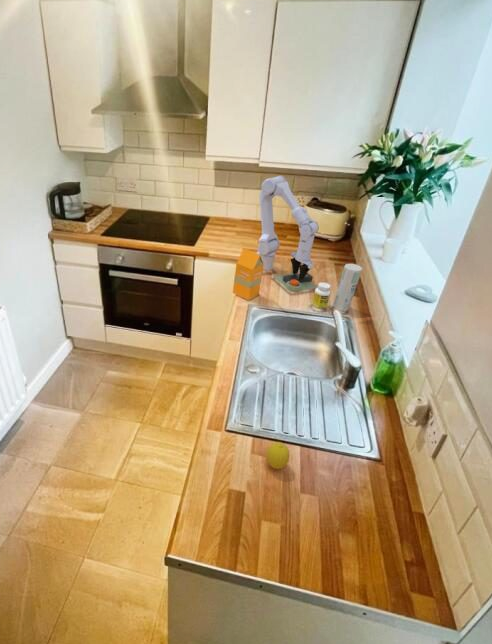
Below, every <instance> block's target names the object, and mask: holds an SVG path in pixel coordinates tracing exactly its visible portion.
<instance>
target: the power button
mask: <svg viewBox="0 0 492 644" xmlns="http://www.w3.org/2000/svg"><path fill="white" fill-rule="evenodd" d="M298 284H299V281H298V280H294V279H293V280H291V281H290V285H292V286H298Z"/></svg>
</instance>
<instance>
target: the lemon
mask: <svg viewBox="0 0 492 644" xmlns="http://www.w3.org/2000/svg"><path fill="white" fill-rule="evenodd" d="M265 458H266V462H267V464H268V465H269V466H270V467H271V468H273V469H275V470H281V469H283V468H285V467H286V466H287V465H288V464H289V461H290V450H289V448H288V446H287V445H286V444H284V443H283V442H279V441H275V442H273V443H271V444H270V445H269V446H268V447H267V450H266V453H265Z"/></svg>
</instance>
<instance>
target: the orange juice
mask: <svg viewBox="0 0 492 644" xmlns="http://www.w3.org/2000/svg"><path fill="white" fill-rule="evenodd" d="M263 267H264V264H263V261H262V259H261V256H260V255H259V254H257V252H254V251H253V250H249V249H246V248H243V249H242V251H241V252H240V256H239V257H238V259H237V261H236V265H235V272H234V279H233V286H232V287H233V288H232V294H234V295H236V296H238V297H240V298H243V299H245V300H246V301H250V300H252V299H254V298H255V297H257V296H259V293H260V289H261V283H262V279H263V273H264V271H263Z"/></svg>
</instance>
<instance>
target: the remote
mask: <svg viewBox="0 0 492 644" xmlns="http://www.w3.org/2000/svg"><path fill="white" fill-rule="evenodd" d="M299 274H300V273H299ZM299 274H293V275H286V276H283V281H284V282H285V283H287V282H288V281H291V280H293V279H294V280H298V281H299V283H303V282H313V279H314V276H312V275H311V274H310V273H309V272H307V274H306V275H305V277H304V279H299Z"/></svg>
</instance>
